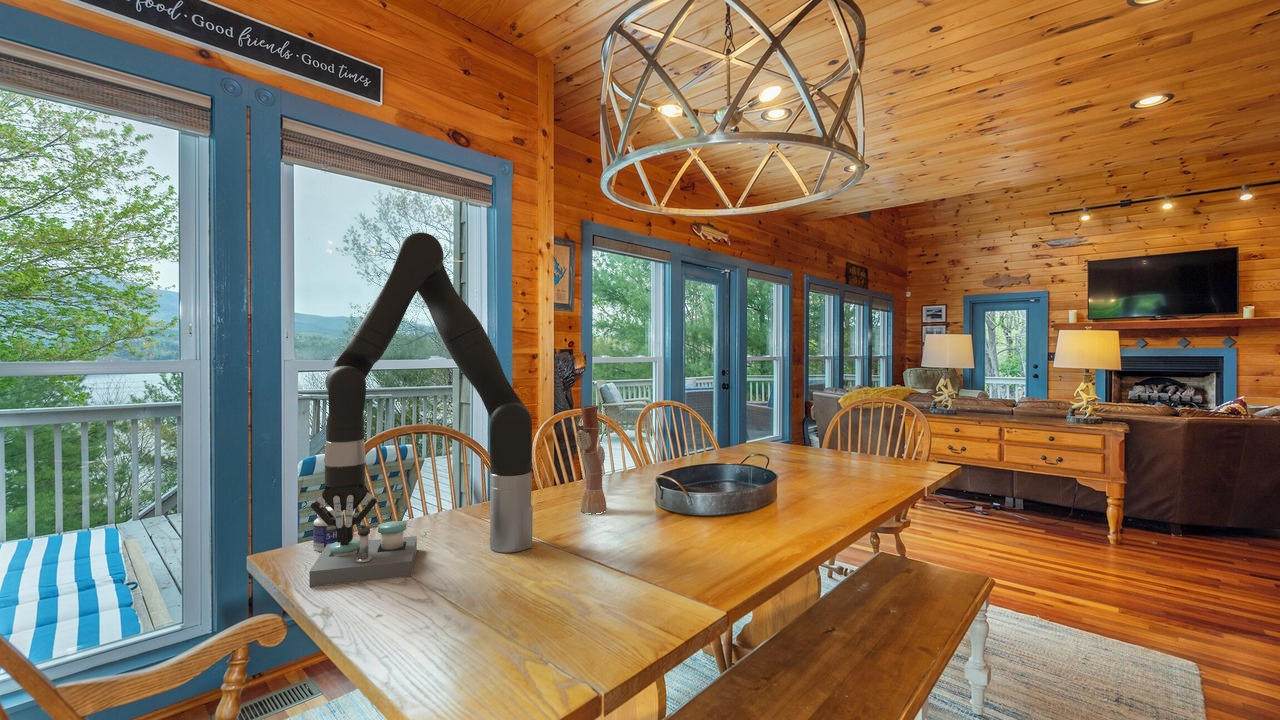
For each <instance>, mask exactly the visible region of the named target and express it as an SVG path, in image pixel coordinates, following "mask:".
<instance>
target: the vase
mask: <svg viewBox="0 0 1280 720" xmlns="http://www.w3.org/2000/svg"><path fill="white" fill-rule="evenodd" d="M599 408H600V407H599V405H598V404H594V405H591V406H582V407H581V409H580V410H581V417H582V418H581V419H582V426H583V428H582V429H580V430H578V431H577V434H576V445H577V446H578V448H579V449H580V455H581V459H582V462H583V466H584V469H585V481H586V482H585V489H584V492H583V495H582V498H581V502H580V510H581V511H582V512H584V513H591V514H596V513H601V512H604V511H606V510H607V501H606V496H605V493H604V489H603V468H602V467H603V465H604V464H605V463H604V462H605V459H606V453H605V449H604V447H603V446H602V445H598V438H599V432H600V431H599V430H600V423H599V418H598V410H599ZM581 511H580V512H581ZM582 512H581V513H582ZM606 512H607V511H606Z"/></svg>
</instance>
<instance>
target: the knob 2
mask: <svg viewBox="0 0 1280 720" xmlns="http://www.w3.org/2000/svg"><path fill="white" fill-rule="evenodd" d="M406 530H407V522H405V521H401V520H398V521H397V520H394V521H393V520H392V521H386V522H382V523H380V524H378V525H377V532H378V534H380V539H381V548H382V549H386V550H390V549H397V548H400V547H402V546H403V537H404V531H406Z"/></svg>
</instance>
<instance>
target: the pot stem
mask: <svg viewBox="0 0 1280 720" xmlns="http://www.w3.org/2000/svg"><path fill="white" fill-rule="evenodd" d="M370 533H371V525H362V526H361V525H360V526H358V527H357V535H358V536H359V541H360V557H358V558H357V559H356V562H357V563H367V562H370V561H371V560H372V557H371V556H368V540H369V534H370Z"/></svg>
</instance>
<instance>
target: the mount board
mask: <svg viewBox="0 0 1280 720" xmlns="http://www.w3.org/2000/svg"><path fill="white" fill-rule="evenodd" d="M417 541H418V537H417V536H416V535H414V536H403V546H402V547H400V548H397V549H390V550H386V549H382V548H381V538H380V539H371V540H370V539H368V556H371V557H372V560H371V561H370V562H367V563H357V562H356V559H357V558H358V557H360V548H359V549H358V550H357V554H355V555H344V556H334V553H332V552H330V545H331V544H333V543H331V544H327V546H326V547H325V549H324V550H323V551H321V552H320V555H319V556H318V558H317V559H316V560H315V562H314V563H313V565H312V567H311V569H310V570H309V579H308V580H309V588H314V587H315V588H316V587H322V586H323V587H324V586H332V585H340V584H341V585H342V584H343V585H344V584H351V583H360V582H369V581H379V580H387V579H388V580H389V579H398V578H406V577H412V575H413V570H414V569H413V568H414V564H415V560H416V559H415V558H416V555H417V551H418V550H417V548H418V547H417V544H418V542H417Z"/></svg>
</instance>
